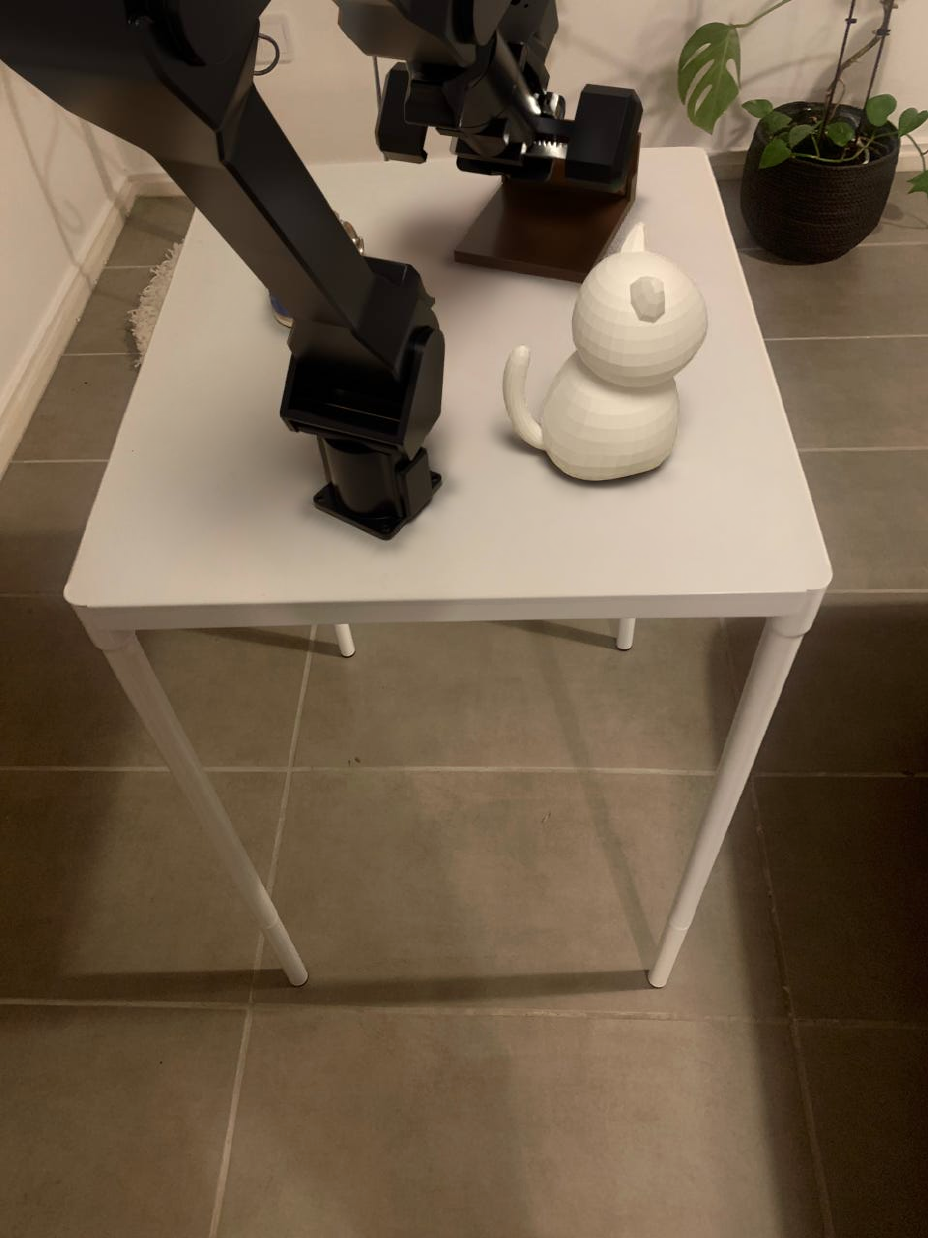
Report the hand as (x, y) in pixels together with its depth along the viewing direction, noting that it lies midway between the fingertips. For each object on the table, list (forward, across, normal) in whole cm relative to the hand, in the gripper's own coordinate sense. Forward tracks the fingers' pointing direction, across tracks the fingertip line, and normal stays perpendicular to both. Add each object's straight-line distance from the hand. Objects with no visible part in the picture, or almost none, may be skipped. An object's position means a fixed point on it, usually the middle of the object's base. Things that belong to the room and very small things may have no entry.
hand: (532, 167), depth 74 cm
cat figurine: (-10, -13, +21) cm, 27 cm away
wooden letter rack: (+5, 0, -2) cm, 6 cm away
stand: (+8, 0, +2) cm, 8 cm away
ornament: (+1, +17, +10) cm, 20 cm away
